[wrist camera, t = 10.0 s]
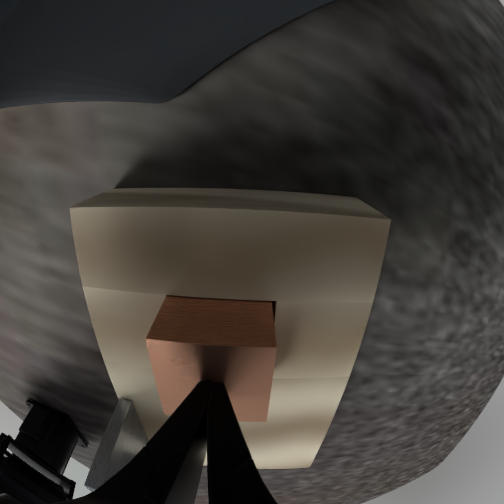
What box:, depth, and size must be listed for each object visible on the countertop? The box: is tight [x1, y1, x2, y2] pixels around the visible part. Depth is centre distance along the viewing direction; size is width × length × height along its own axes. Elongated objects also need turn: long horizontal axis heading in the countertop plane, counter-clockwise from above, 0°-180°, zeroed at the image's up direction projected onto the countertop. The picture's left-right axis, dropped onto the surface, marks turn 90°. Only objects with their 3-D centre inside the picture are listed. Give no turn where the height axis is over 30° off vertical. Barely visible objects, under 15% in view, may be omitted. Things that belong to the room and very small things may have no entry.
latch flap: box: [85, 398, 149, 492], centre depth 11 cm, size 6×6×1 cm
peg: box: [146, 295, 277, 422], centre depth 12 cm, size 4×4×7 cm
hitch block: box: [70, 188, 391, 469], centre depth 15 cm, size 18×12×4 cm, turn 177°
